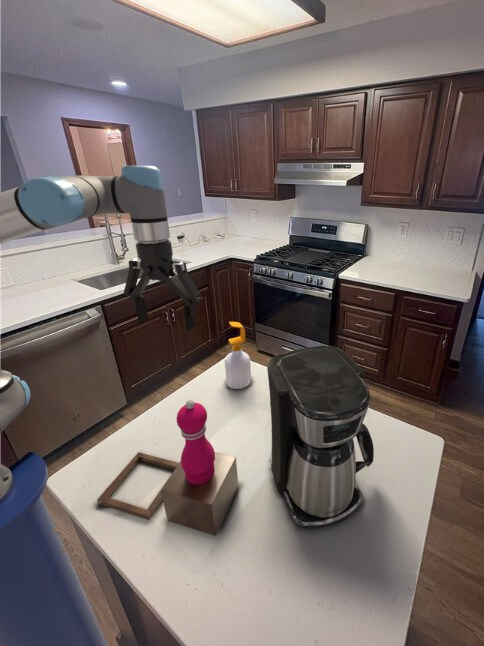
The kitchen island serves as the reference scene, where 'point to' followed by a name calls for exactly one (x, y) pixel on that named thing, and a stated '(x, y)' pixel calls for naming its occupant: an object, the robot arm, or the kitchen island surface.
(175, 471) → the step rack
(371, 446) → the coffee maker
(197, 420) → the pepper mill
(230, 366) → the soap bottle
